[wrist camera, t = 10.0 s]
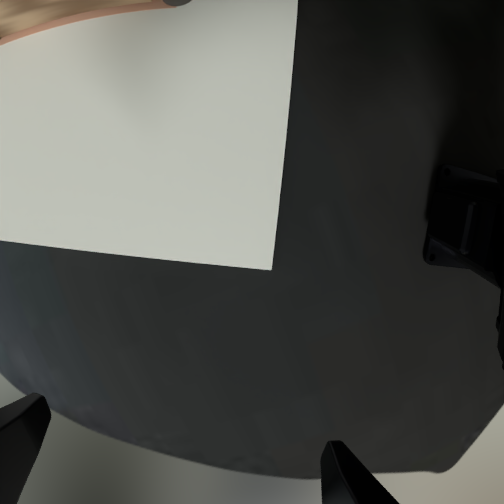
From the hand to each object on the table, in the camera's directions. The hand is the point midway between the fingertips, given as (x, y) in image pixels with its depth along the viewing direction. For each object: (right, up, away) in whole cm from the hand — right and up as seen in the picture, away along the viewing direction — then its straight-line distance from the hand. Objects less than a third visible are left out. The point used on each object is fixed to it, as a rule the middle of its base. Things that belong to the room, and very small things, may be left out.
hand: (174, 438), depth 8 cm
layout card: (-7, +20, +7) cm, 22 cm away
